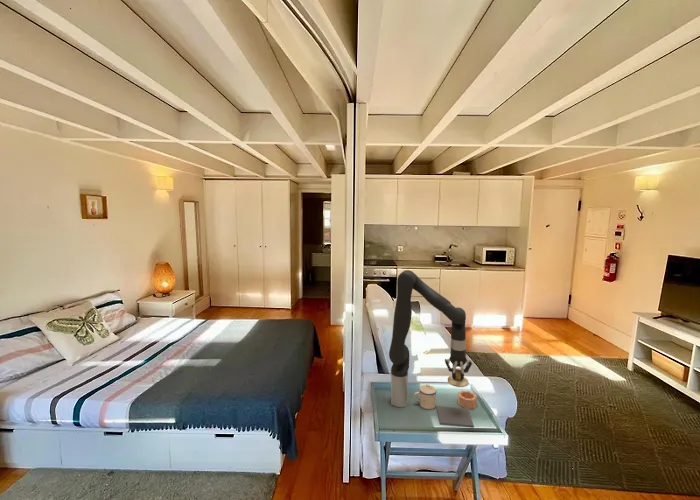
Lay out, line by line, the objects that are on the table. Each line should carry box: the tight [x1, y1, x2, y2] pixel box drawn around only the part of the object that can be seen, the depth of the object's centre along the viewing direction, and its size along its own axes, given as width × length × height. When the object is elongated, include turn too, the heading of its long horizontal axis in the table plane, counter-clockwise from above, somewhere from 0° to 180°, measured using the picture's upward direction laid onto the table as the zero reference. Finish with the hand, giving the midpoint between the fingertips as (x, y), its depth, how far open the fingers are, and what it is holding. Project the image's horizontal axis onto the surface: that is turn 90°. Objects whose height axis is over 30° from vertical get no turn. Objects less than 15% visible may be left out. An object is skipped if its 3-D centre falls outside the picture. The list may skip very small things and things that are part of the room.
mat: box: [436, 405, 475, 428], centre depth 158 cm, size 16×14×1 cm
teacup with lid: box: [413, 383, 437, 410], centre depth 169 cm, size 12×9×12 cm
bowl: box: [457, 390, 478, 410], centre depth 169 cm, size 9×9×5 cm
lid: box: [447, 368, 469, 388], centre depth 158 cm, size 10×10×6 cm
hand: (457, 379), depth 159 cm, fingers closed on lid, 3 cm apart
